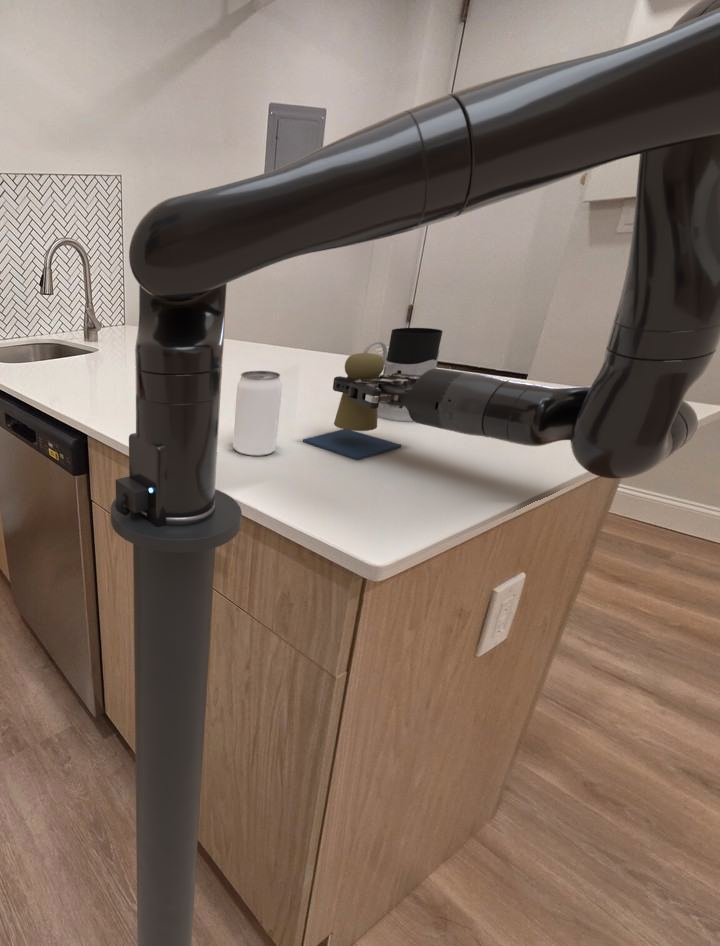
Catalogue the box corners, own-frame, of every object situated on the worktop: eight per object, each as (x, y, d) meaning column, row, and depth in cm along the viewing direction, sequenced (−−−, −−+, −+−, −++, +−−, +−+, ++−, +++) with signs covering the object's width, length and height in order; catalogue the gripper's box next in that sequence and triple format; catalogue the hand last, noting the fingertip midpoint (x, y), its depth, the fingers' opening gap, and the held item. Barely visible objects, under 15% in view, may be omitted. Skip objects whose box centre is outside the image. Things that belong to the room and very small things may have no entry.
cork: (382, 431, 78) (395, 356, 74) (339, 431, 79) (349, 358, 75) (369, 419, 83) (381, 350, 79) (329, 419, 85) (338, 351, 80)
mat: (356, 460, 77) (357, 457, 76) (302, 441, 85) (302, 439, 85) (401, 447, 80) (401, 444, 80) (345, 430, 89) (345, 428, 89)
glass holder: (440, 418, 92) (460, 331, 86) (370, 427, 90) (385, 338, 84) (402, 406, 100) (418, 325, 94) (337, 414, 98) (349, 332, 92)
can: (284, 453, 80) (292, 376, 76) (246, 459, 79) (252, 380, 74) (260, 440, 86) (267, 368, 81) (225, 445, 85) (229, 372, 80)
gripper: (500, 365, 68) (379, 351, 82) (432, 381, 63) (315, 362, 77) (486, 421, 71) (372, 397, 85) (420, 440, 65) (309, 411, 80)
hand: (345, 381), depth 81 cm, fingers closed on cork, 4 cm apart
